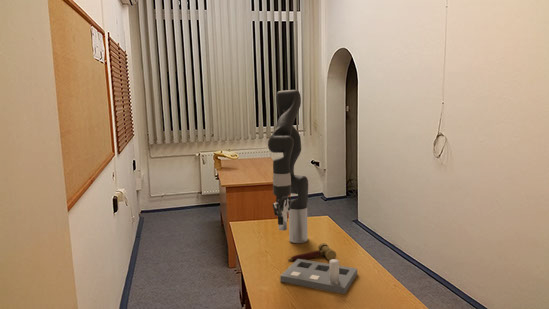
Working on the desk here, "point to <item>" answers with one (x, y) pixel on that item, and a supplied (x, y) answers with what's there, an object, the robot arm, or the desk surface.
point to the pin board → (320, 275)
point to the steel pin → (284, 220)
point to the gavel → (317, 253)
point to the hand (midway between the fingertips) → (282, 222)
